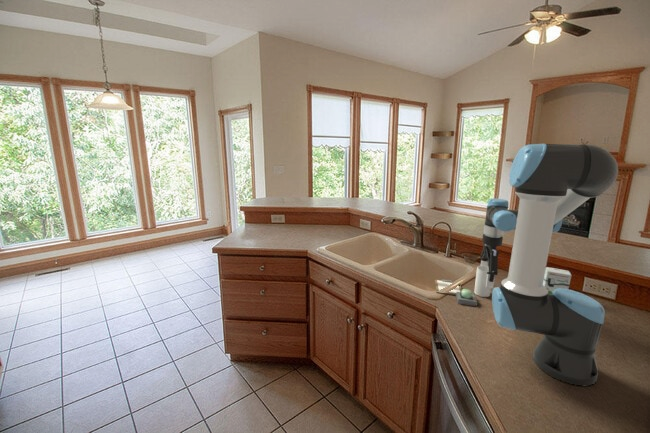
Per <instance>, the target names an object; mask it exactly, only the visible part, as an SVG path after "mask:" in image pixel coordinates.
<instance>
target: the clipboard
mask: <svg viewBox="0 0 650 433" xmlns="http://www.w3.org/2000/svg"><path fill="white" fill-rule="evenodd" d="M454 282H455V281H454V280H451V279H434V284H435V291H440V290H441V289H443V288H445V287H447V286H449V285H450V284H452V283H454ZM462 290H463V289H462V286H461V285H460V286H457V287H456V288H455V289H453V290H451V291H449V292H448V293H447V294H446V295H448V296H455V297H456V291H457V292H462Z"/></svg>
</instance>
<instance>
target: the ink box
mask: <svg viewBox="0 0 650 433" xmlns="http://www.w3.org/2000/svg"><path fill="white" fill-rule="evenodd" d="M571 279H572V274H571V271H569V270H567V269H566V270H565V269H560V268H555V267H548V266H546V269H545V275H544V280H543V286H544V287H545V288H546V289H547V290H548V294H551V295H553V291H554V290H555V289H559V288H564V289H569V288H570V283H571Z"/></svg>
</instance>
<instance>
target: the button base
mask: <svg viewBox="0 0 650 433" xmlns="http://www.w3.org/2000/svg"><path fill="white" fill-rule="evenodd" d="M461 294H462V292H457V291H456V296H455V298H456V303H457V304H458V305H466V306H472V307H477V305H478V300H477V298H476V296H475V295H476V294H475V293H472V299H463V298H462V297H461Z"/></svg>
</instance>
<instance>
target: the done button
mask: <svg viewBox="0 0 650 433" xmlns="http://www.w3.org/2000/svg"><path fill="white" fill-rule="evenodd" d="M472 294H473V291H472V290H470V289H468V288H463V289H462V294H461V297H462V298H463V299H470V300H471V299H472Z"/></svg>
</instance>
